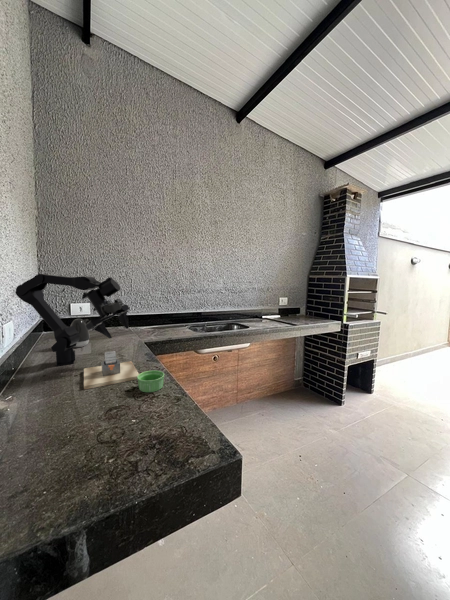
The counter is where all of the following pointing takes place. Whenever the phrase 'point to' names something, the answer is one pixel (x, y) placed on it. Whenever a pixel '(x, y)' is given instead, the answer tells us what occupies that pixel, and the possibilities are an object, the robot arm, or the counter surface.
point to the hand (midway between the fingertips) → (119, 333)
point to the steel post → (110, 357)
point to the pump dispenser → (81, 332)
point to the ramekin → (150, 381)
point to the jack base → (109, 374)
